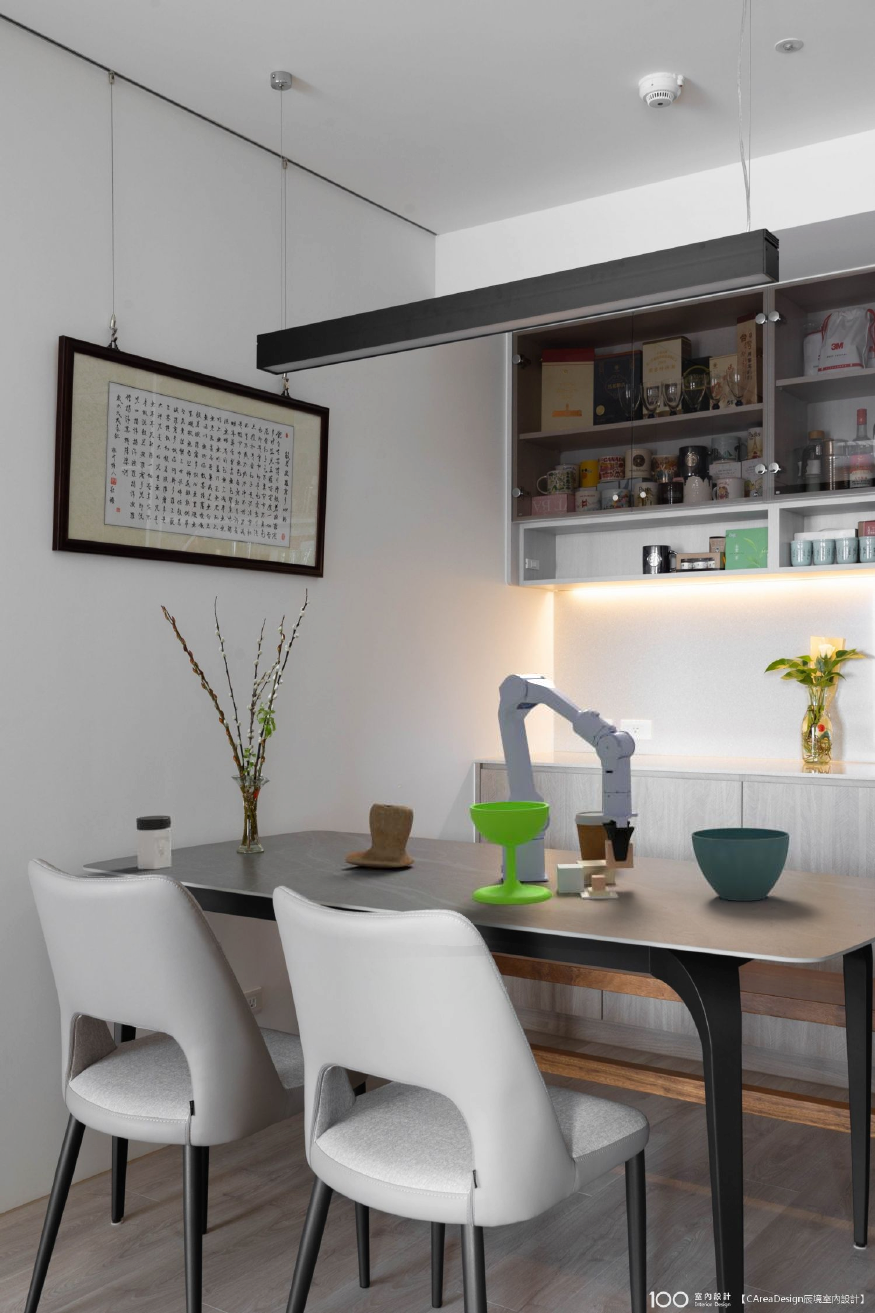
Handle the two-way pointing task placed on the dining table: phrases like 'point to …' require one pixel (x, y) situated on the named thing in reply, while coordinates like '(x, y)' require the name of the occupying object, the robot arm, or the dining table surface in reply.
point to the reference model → (598, 889)
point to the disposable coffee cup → (591, 835)
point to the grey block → (570, 878)
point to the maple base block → (597, 870)
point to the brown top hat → (386, 838)
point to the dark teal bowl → (741, 860)
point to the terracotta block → (611, 860)
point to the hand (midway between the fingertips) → (619, 858)
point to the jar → (154, 842)
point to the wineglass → (510, 846)
